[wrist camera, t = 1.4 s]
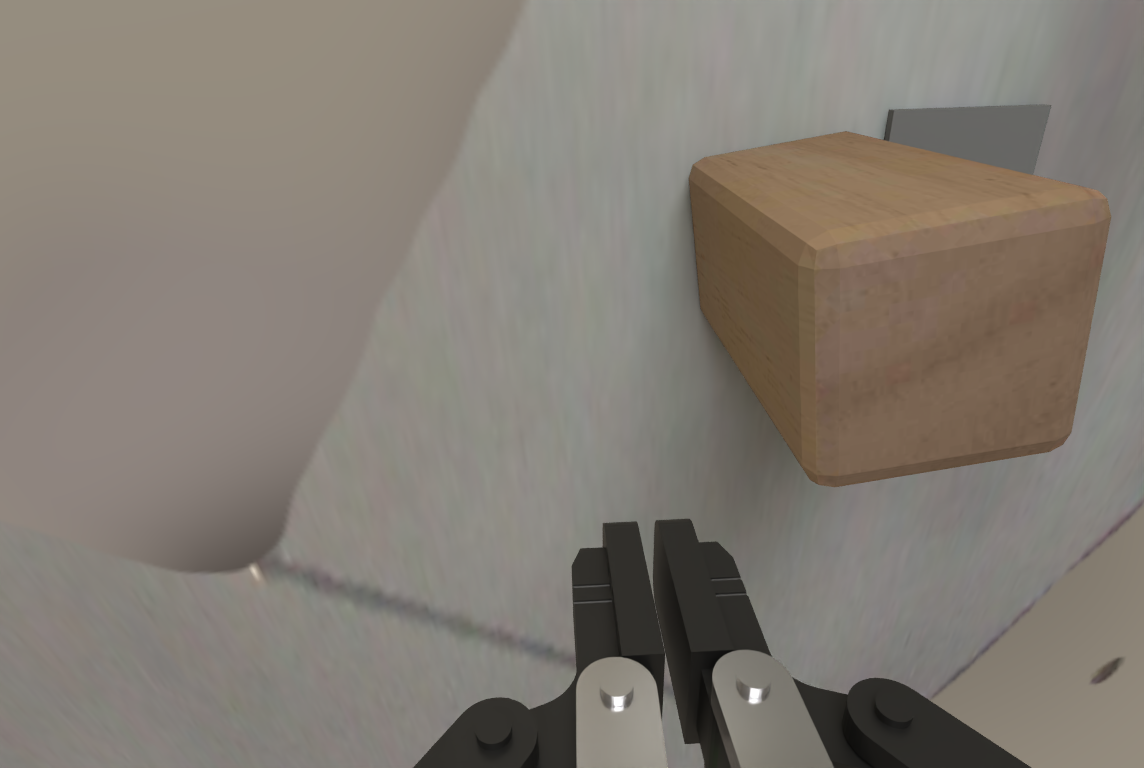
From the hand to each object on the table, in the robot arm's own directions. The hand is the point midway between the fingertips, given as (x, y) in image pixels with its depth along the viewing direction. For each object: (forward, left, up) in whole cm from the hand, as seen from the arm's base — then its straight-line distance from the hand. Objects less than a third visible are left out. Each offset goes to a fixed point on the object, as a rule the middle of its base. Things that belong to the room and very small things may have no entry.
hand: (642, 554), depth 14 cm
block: (-12, 0, -29) cm, 32 cm away
